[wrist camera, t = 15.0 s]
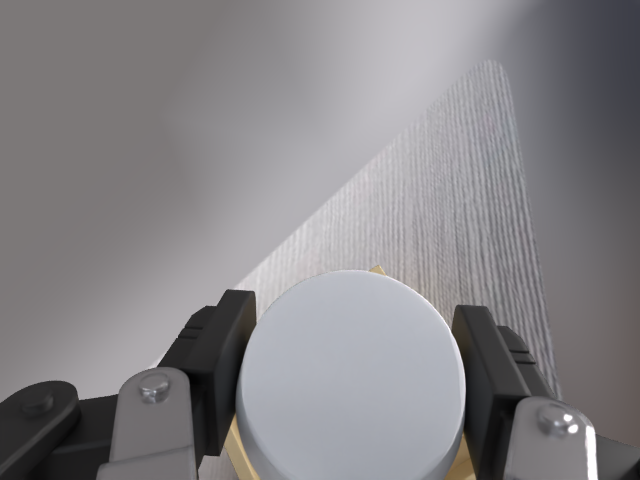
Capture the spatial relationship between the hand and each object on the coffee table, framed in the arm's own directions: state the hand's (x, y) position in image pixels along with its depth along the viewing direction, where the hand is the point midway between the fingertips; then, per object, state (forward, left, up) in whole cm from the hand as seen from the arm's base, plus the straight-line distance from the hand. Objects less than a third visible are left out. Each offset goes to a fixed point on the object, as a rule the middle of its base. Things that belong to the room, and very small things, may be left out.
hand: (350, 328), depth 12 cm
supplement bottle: (-1, -2, -6) cm, 6 cm away
